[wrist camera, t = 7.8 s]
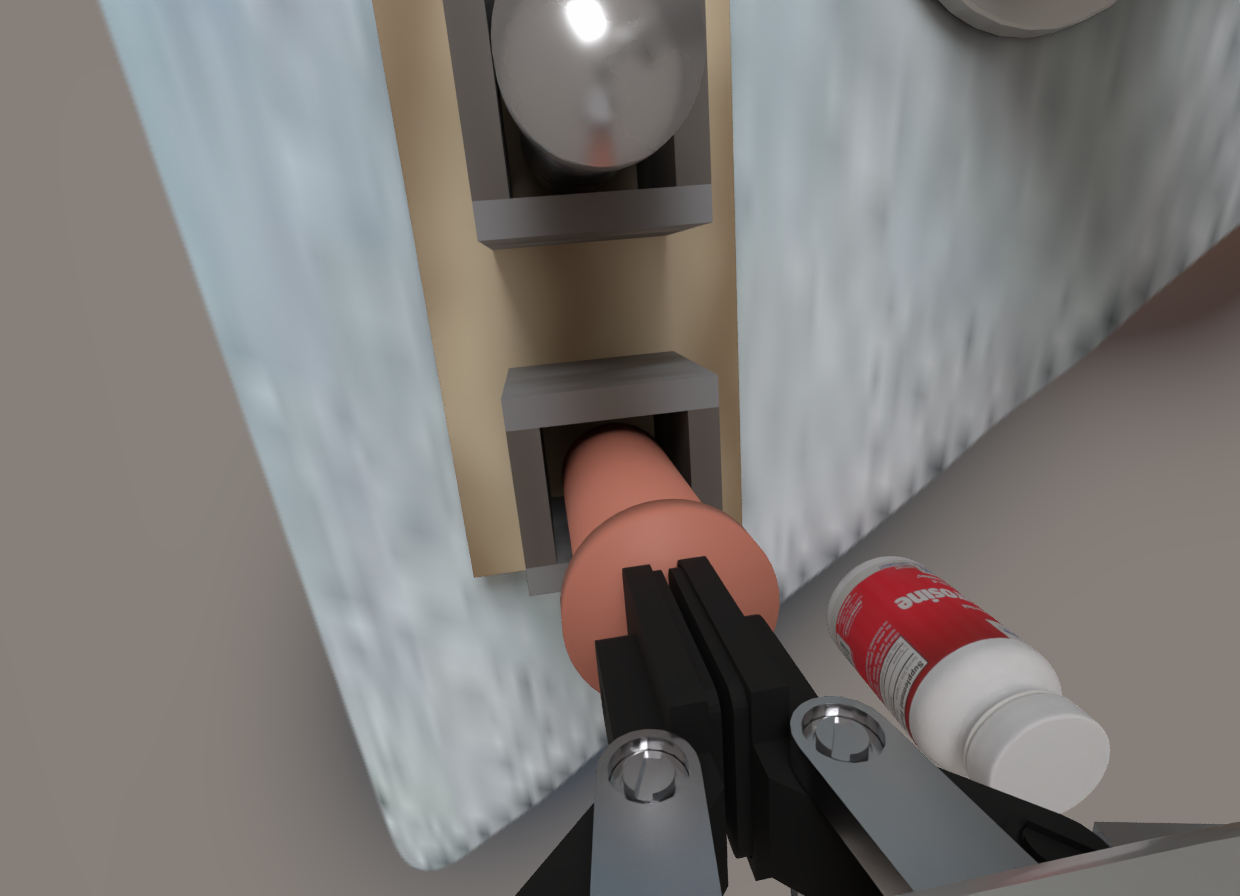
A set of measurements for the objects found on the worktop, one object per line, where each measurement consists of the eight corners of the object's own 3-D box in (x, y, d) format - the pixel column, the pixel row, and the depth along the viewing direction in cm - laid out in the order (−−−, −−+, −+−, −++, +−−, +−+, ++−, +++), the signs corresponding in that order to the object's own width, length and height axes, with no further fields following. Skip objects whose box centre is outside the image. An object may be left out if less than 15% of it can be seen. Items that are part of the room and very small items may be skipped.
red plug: (673, 404, 20) (779, 500, 11) (680, 524, 21) (780, 690, 12) (542, 418, 19) (549, 530, 11) (557, 541, 20) (575, 726, 12)
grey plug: (630, 65, 20) (701, -87, 12) (639, 204, 21) (709, 158, 13) (499, 71, 19) (474, -82, 11) (517, 213, 21) (507, 172, 12)
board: (711, -16, 22) (806, -169, 14) (728, 521, 28) (799, 611, 21) (381, -5, 21) (293, -167, 13) (478, 556, 27) (456, 666, 19)
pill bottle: (949, 564, 31) (1161, 712, 21) (903, 661, 32) (1080, 847, 22) (847, 540, 30) (1019, 685, 19) (804, 643, 31) (942, 830, 21)
